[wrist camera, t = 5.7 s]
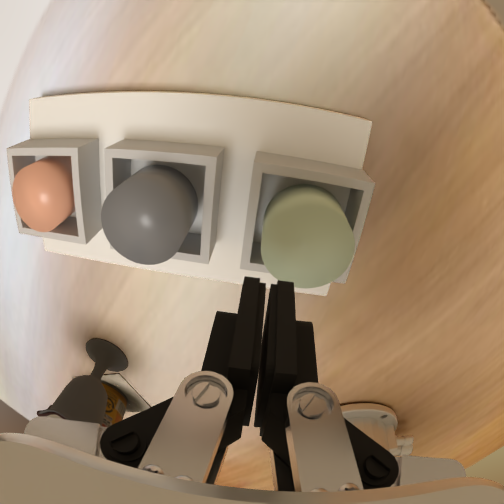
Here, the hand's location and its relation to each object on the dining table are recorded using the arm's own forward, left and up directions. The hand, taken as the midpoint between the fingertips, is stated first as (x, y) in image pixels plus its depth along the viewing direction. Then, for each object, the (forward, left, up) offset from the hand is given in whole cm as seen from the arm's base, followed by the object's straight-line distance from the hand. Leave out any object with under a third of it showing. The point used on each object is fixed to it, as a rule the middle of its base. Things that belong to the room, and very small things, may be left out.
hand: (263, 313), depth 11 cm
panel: (+6, 0, -11) cm, 12 cm away
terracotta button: (+14, 0, -9) cm, 17 cm away
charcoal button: (+6, 0, -7) cm, 10 cm away
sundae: (+14, +19, -11) cm, 26 cm away
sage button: (-2, 0, -7) cm, 8 cm away
